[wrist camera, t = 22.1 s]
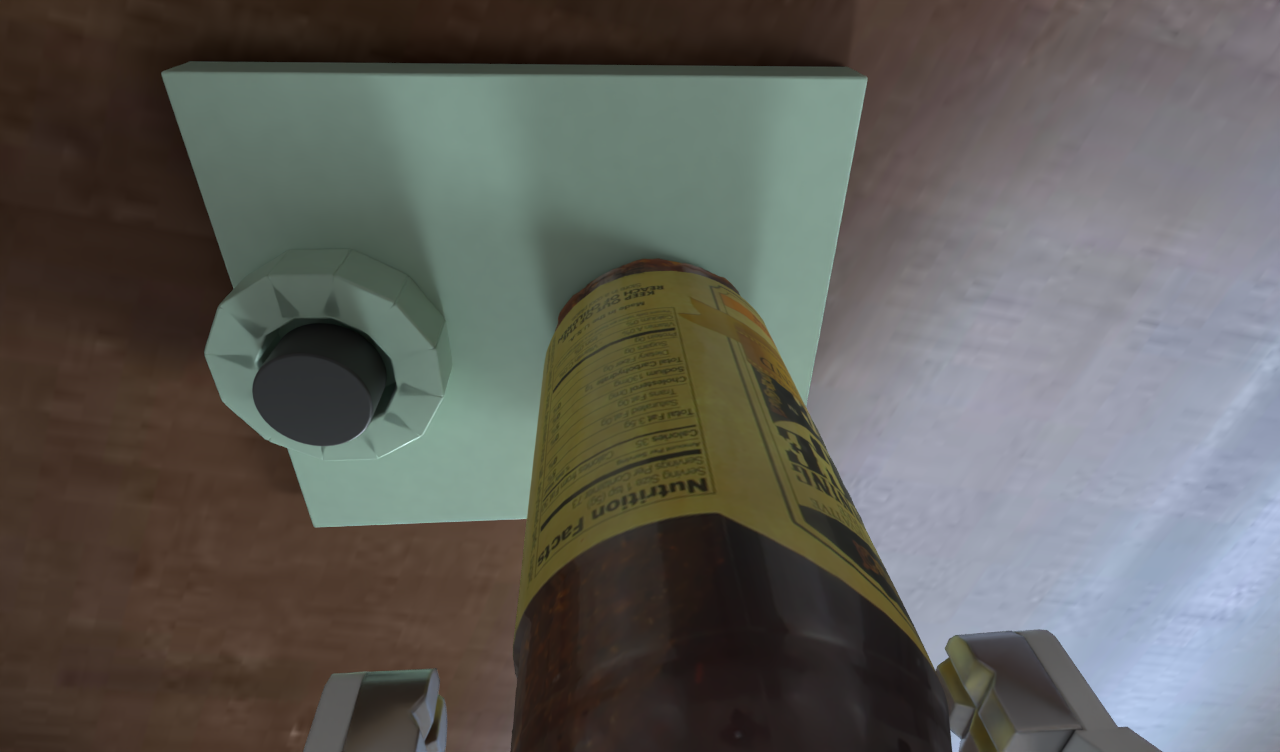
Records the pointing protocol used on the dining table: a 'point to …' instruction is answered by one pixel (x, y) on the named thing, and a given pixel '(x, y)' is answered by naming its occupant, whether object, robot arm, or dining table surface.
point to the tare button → (320, 385)
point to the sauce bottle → (699, 546)
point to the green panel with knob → (494, 236)
